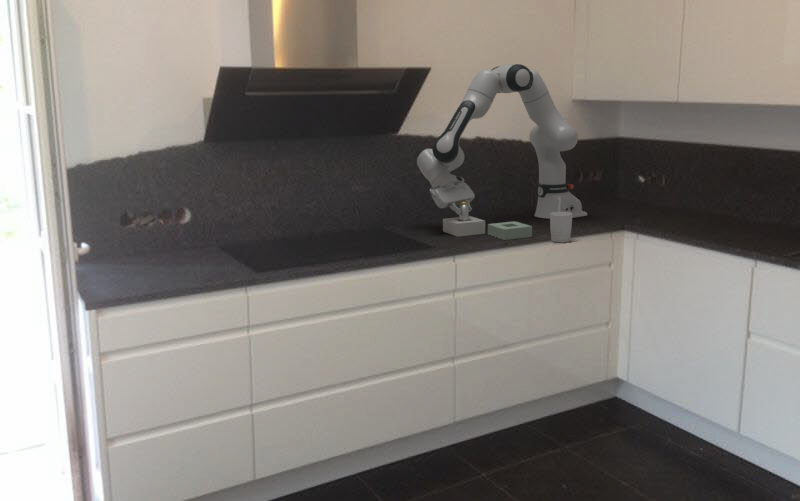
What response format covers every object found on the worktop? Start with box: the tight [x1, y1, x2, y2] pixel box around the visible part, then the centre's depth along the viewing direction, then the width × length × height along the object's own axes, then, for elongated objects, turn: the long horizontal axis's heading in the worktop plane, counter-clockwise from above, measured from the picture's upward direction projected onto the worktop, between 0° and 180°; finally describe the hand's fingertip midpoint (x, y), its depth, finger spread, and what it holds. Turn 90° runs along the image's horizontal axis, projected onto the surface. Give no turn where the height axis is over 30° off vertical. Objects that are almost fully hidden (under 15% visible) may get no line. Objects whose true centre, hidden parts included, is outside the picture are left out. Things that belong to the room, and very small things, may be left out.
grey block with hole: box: [442, 215, 486, 238], centre depth 288 cm, size 12×12×5 cm
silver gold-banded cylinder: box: [458, 201, 470, 222], centre depth 287 cm, size 4×4×12 cm
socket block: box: [487, 220, 533, 241], centre depth 280 cm, size 12×12×4 cm
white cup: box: [549, 212, 573, 244], centre depth 268 cm, size 8×8×10 cm
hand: (465, 212), depth 286 cm, fingers open, 5 cm apart
